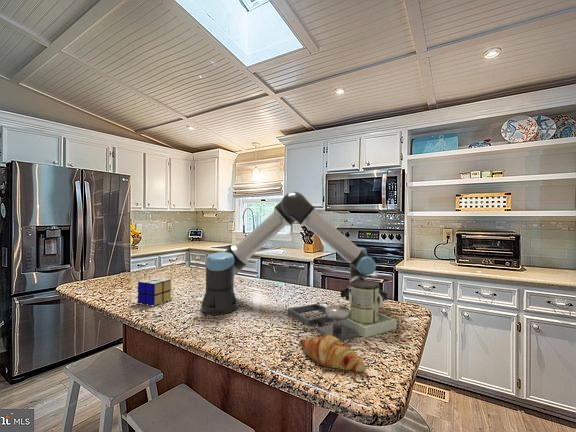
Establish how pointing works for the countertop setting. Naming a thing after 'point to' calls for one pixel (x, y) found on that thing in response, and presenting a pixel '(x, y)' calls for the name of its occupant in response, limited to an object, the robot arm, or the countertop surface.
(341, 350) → the croissant
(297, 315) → the socket
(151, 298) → the puzzle cube
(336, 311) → the door knob
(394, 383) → the countertop surface
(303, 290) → the countertop surface
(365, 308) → the coffee can
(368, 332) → the tray
